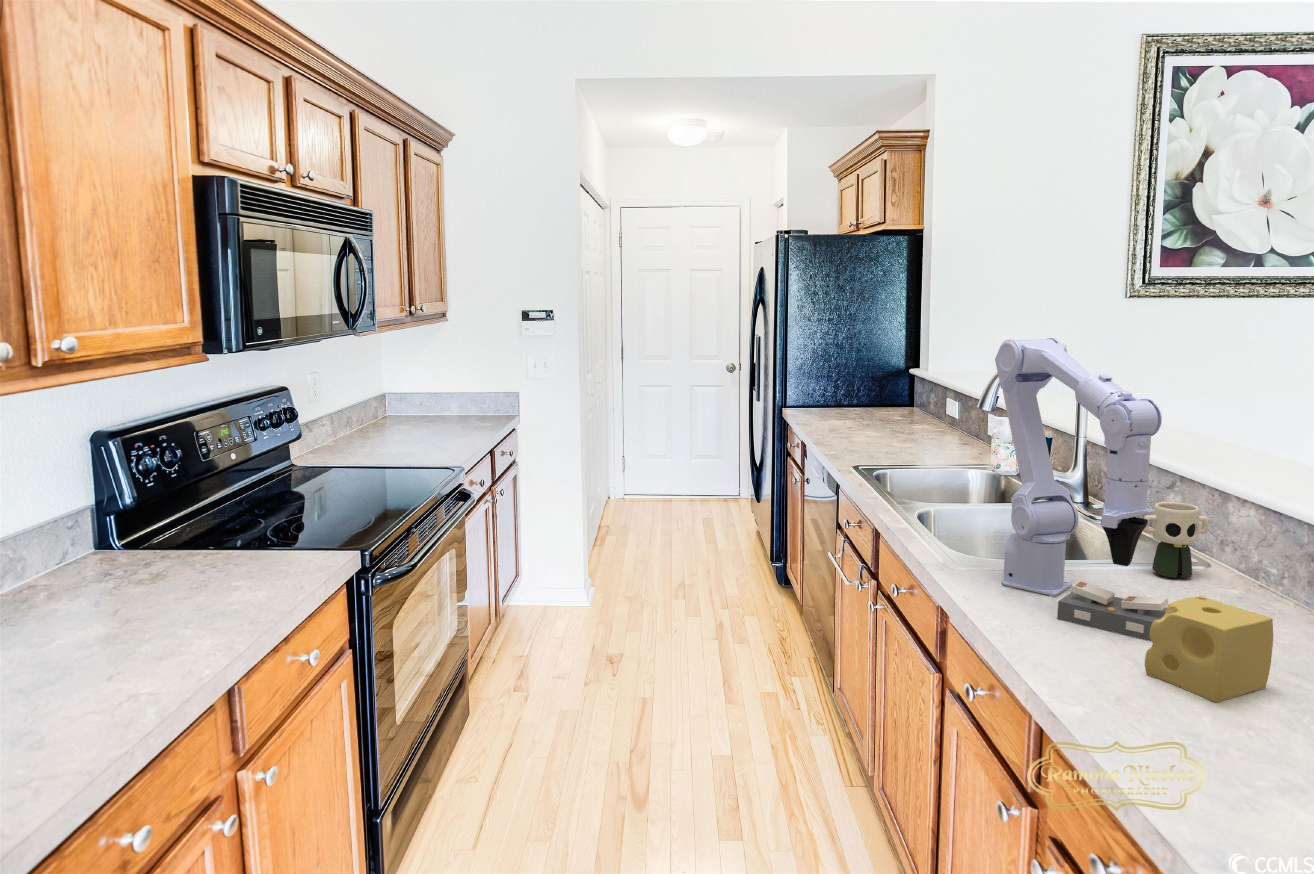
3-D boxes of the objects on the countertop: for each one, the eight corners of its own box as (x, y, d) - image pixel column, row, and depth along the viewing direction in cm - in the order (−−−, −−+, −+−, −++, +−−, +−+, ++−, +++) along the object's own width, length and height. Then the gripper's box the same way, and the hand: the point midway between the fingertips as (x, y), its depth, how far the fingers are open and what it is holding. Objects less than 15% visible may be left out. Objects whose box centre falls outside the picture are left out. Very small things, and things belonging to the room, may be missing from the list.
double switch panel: (1056, 619, 139) (1058, 597, 138) (1075, 606, 145) (1076, 584, 144) (1161, 643, 129) (1163, 620, 128) (1177, 628, 134) (1179, 605, 134)
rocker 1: (1070, 591, 139) (1071, 584, 139) (1078, 585, 142) (1079, 579, 142) (1106, 604, 136) (1107, 598, 135) (1113, 598, 138) (1115, 592, 138)
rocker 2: (1121, 608, 134) (1120, 601, 134) (1129, 602, 137) (1128, 595, 137) (1161, 610, 130) (1160, 603, 130) (1168, 604, 133) (1167, 597, 133)
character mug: (1147, 580, 157) (1153, 510, 155) (1132, 568, 164) (1136, 501, 162) (1213, 582, 155) (1219, 511, 153) (1194, 570, 162) (1200, 501, 160)
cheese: (1143, 674, 119) (1148, 604, 117) (1196, 660, 123) (1202, 592, 121) (1217, 706, 109) (1224, 630, 108) (1273, 689, 113) (1280, 616, 112)
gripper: (1140, 489, 126) (1134, 580, 128) (1170, 474, 136) (1164, 558, 138) (1088, 483, 131) (1083, 570, 133) (1121, 469, 141) (1116, 550, 143)
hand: (1121, 564), depth 136 cm, fingers closed
